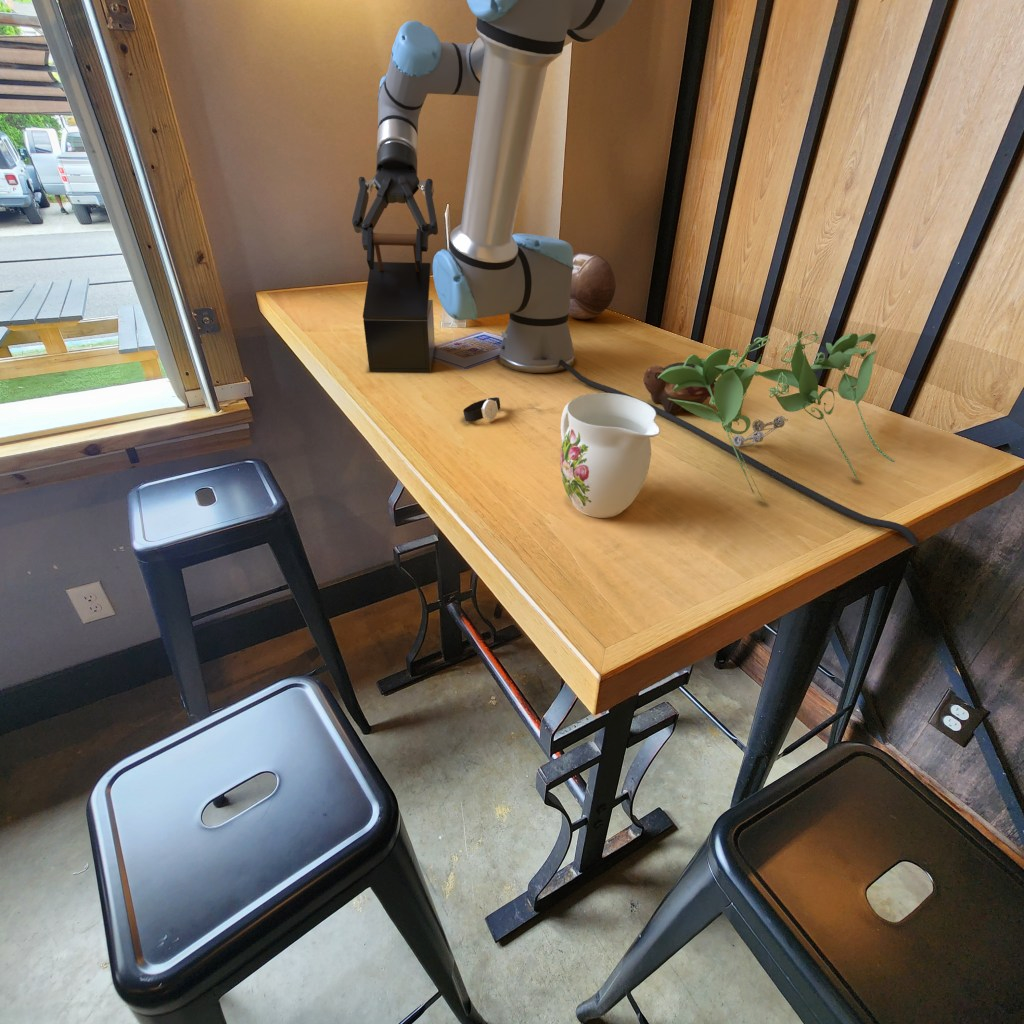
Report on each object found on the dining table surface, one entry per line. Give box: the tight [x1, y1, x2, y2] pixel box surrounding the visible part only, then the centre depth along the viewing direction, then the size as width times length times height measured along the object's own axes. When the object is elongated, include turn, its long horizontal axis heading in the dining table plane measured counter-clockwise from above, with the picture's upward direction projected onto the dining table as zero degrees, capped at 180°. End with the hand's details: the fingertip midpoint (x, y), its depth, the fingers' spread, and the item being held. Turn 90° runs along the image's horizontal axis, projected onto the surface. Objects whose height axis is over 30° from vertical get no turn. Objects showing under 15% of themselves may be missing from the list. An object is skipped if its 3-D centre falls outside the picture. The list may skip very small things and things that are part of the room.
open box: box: [362, 299, 436, 373], centre depth 112 cm, size 15×12×10 cm
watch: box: [462, 396, 501, 423], centre depth 93 cm, size 8×5×4 cm, turn 143°
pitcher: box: [559, 392, 661, 519], centre depth 71 cm, size 11×18×14 cm, turn 27°
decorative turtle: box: [642, 361, 717, 415], centre depth 97 cm, size 10×15×8 cm, turn 111°
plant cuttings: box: [658, 330, 896, 501], centre depth 80 cm, size 35×17×22 cm
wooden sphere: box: [568, 252, 617, 320], centre depth 138 cm, size 15×15×15 cm
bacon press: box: [362, 232, 432, 320], centre depth 104 cm, size 15×12×8 cm
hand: (394, 265), depth 103 cm, fingers closed on bacon press, 8 cm apart
